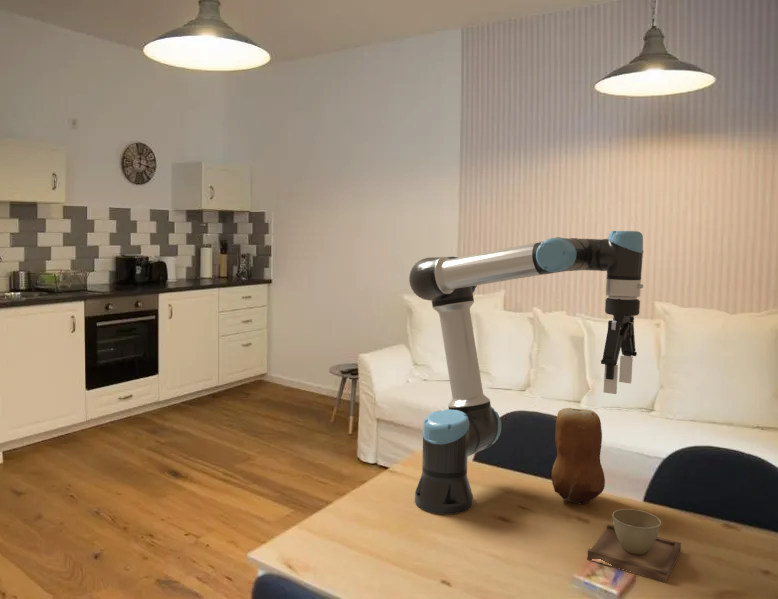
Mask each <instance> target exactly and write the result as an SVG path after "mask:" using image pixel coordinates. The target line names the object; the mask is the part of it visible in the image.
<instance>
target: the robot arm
mask: <svg viewBox="0 0 778 599" xmlns="http://www.w3.org/2000/svg"><path fill="white" fill-rule="evenodd" d="M608 234H609V235H608V237H607V238H603V239H601V238H600V239H599V238H598V239H597V238H577V237H575V238H573V237H570V238H564V237H557V236H556V237H551V238H547V239H545V240H544V241H539V242H534V243H529V244H524V245H517V246H514V247H509V248H503V249H498V250H493V251H487V252H483V253H481V252H480V253H476V254H473V255H472V254H471V255H465V256H460V257H458V256H440V257H434V256H432V257H425V258H422V259H420V260H418V261H417V262H415V264H414V265H413V266H412V268H411V270H410V273H409V278H408V280H409V286H410V288H411V290H412V292H413V293H414V294H415V295H416V296H417V297H418V298H420V299H422V300H425V301H431V306H432V309H433V310H434V311H435V312H437V314H439V321H440V327H441V334H442V340H443V347H444V353H445V359H446V360H445V361H446V365H447V372H448V377H449V378H448V379H449V384H450V391H451V397H452V398H451V400H450V401H449V403H448V405H447V406H448V409H443V410H435V411H433V412H430V413H429V414H428V415H427V416H426V417H425V419H424V421H423V429H422V468H421V470H422V471H421V476H420V478H419V479H418V483H417V487H416V490H415V493H414V503H415V505H416V506H417V507H418V508H419V509H422V511H426V512H429V513H432V514H436V515H437V514H438V515H439V514H440V515H456V514H462V513H464V512H467V511H469V510H471V508H472V507H473V505H474V495H473V492H472V488H471V484H470V481H469V478H468V457H470V456H472V455H474V454H477V453H479V452H482V451H485V450H486V449H489V448H490V447H491V446H492V445H493V444H495V443H496V442H497V441H498V439H499V438H500V435H501V432H502V420H501V418H500V417H501V416H500V415H499V413H498V412H497V411H496V410H495V408H494V407H492V406H491V399H490V398H489V397H488V396H487V395H485V394H484V390H483V384H482V379H481V371H480V366H479V358H478V351H477V347H476V339H475V334H474V328H473V323H472V322H473V321H472V315H471V307H472V305H473V304H474V303H475V300H474V298H475V297H474V294H473V293H475V291H476V288H477V287H478V286H481V285H487V284H493V283H498V282H499V283H501V282H505V281H511V280H517V279H518V280H519V279H524V278H530V277H535V276H541V275H549V274H556V273H557V274H558V273H564V272H574V271H575V272H577V271H595V272H596V271H599V272H606V284H605V295H606V298H605V302H604V303H605V306H604V311H605V314H607V315H610V316H611V315H612V316H613V318H612V320H608V323H607V331H606V332H607V333H606V339H605V343H604V348H603V355H602V359H601V360H600V364H601V365H604V376H603V393H604V394H605V393H606V394H611V395H612V394H613V395H616V394H617V391H618V390H617V389H618V383H625V384H632V377H633V376H632V375H633V361H634V360H633V358H634V357H637V355H638V353H637V350H636V341H635V328H634V327H635V317H637V316H638V315H640V310H641V309H640V308H641V307H640V306H641V300H640V299H639V298H640V296H641V289H643V288H644V284H642V283H641V282H642V272H643V271H642V270H643V258H644V256H643V255H644V235H643V233H642V232H641V231H637V230H612V231H610V232H609V233H608ZM620 351H621V354H622V355H620ZM619 355H620V358H619ZM618 360H620V362H619V364H618ZM618 372H619V376H618ZM618 381H619V382H618Z"/></svg>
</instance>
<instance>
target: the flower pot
mask: <svg viewBox="0 0 778 599" xmlns="http://www.w3.org/2000/svg"><path fill="white" fill-rule="evenodd" d="M611 516H612V525H613V526H614V529H615V532H616V535H617V538H618V540H619V542H620V544H621V546H622V548H623V549H624V550H625V551H627V552H629V553H633V554H645V553H646V552H647V551H648V550H649V549H650V548H651V546H652V545H653V543H654V542H655V540H656V538H657V537H659V532H660V530H661V526H662V521H661V519H660V518H659V517H657V516H656V515H654V514H652V513H650V512H648V511H645V510H640V509H633V508H622V509H621V508H620V509H617V510H614V511H613V513H612V515H611Z"/></svg>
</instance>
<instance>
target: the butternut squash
mask: <svg viewBox="0 0 778 599" xmlns="http://www.w3.org/2000/svg"><path fill="white" fill-rule="evenodd" d="M555 421H556V422H555V431H554V432H555V434H554V435H555V439H554V440H555V442H554V443H555V448H556V452H557V453H556V454H557V455H556V458H555V461H554V463H553V465H552V469H551V482H552V483H551V484H552V486H553V490H554V492H555V493H556V494H558V495H559V496H560V497H561V498H562V499H563V500H566V501H568V502H571V503H576V504H580V505H584V504H587V503H589V502H591V501H593V500H594V499H596V498H597V497H599V495H601V494H602V492H603V491H604V490H605V485H606V478H605V477H606V476H605V472H604V469H603V466H602V464H601V452H602V450H601V449H602V442H603V430H602V423H601V419H600V416H599V414H597V413H596V412H595V411H594V410H592V409H588V408H587V409H586V408H585V409H584V408H571V407H565V408H561V409H559V410H558V412H557V414H556V420H555Z"/></svg>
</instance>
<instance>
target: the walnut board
mask: <svg viewBox="0 0 778 599" xmlns="http://www.w3.org/2000/svg"><path fill="white" fill-rule="evenodd" d="M681 547H682V543H681V542H678V541H675V540H670V539H668V538H664V537H661V536H657V538H656V540H655V542H654V543H653V545H652V546H651V548H650V549H649V550H648V551H647V552H646V553H645V554H633V553H629V552H627V551H625V550H624V549H623V548H622V546H621V544H620V542H619V540H618V538H617V535H616V532H615V529H614V524H609V523H608V524H606V528H605V530H604V531H603V533H601V535H600V536H599V538H597V540H596V542H594V544H593V545H592V547H591V548H589V549H588V550H587V558H586V559H587V561H590V560H592V559H601V560H603V561H605V562H607V563H609V564H611V565H612V566H614V567H616V568H615V569H617V568H620V569H619V570H621V569H624V570H627V571H626V572H628V571H631V572H634V573H633V574H634V575H638V576H643V577H645V578H649V579H652V580H656V581H659V582H663V583H665V584H666V583H667V581H668V580H669V577H670V575H671V573H672V571H673V569H674V566H675V564H676V562H677V560H678V558H679V555H680V553H681ZM614 567H613V568H614ZM624 570H623V571H624ZM631 572H630V573H631Z"/></svg>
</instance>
